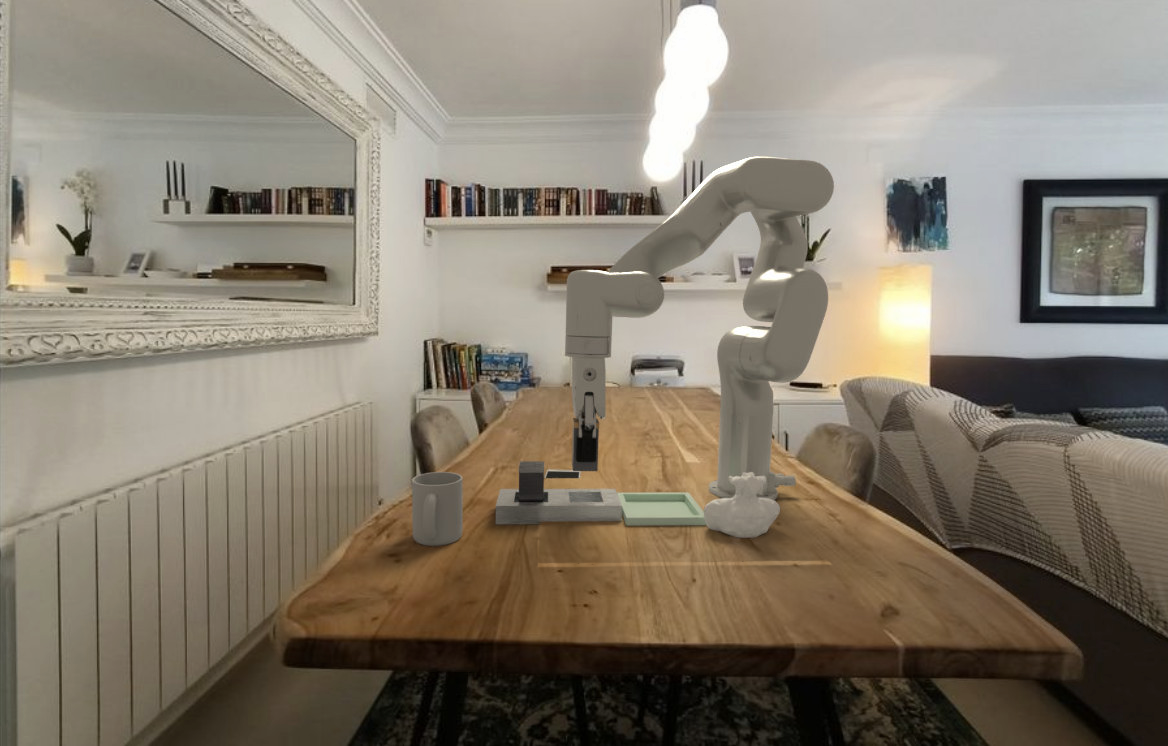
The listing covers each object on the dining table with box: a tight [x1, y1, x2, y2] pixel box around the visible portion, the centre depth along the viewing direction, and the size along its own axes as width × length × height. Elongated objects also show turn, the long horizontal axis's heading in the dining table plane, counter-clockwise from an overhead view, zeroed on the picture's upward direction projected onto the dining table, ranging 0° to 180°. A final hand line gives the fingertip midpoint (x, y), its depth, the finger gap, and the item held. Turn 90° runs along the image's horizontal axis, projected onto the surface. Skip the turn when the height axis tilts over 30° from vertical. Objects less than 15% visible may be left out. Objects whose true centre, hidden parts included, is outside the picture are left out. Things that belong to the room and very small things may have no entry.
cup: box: [411, 471, 464, 547], centre depth 86 cm, size 7×10×9 cm
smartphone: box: [544, 468, 582, 479], centre depth 117 cm, size 7×15×1 cm, turn 178°
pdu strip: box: [495, 460, 623, 525], centre depth 98 cm, size 20×9×8 cm, turn 94°
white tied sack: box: [703, 472, 781, 539], centre depth 90 cm, size 12×8×11 cm
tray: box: [617, 491, 707, 526], centre depth 99 cm, size 13×13×2 cm
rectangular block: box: [571, 417, 600, 472], centre depth 97 cm, size 4×4×8 cm
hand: (585, 457), depth 98 cm, fingers closed on rectangular block, 4 cm apart
